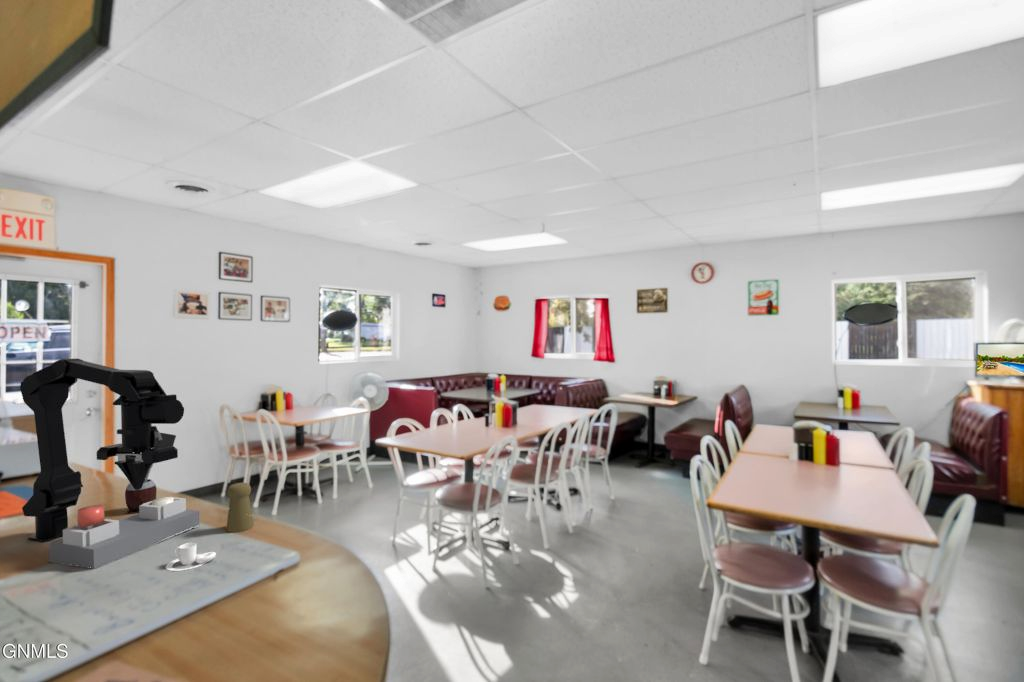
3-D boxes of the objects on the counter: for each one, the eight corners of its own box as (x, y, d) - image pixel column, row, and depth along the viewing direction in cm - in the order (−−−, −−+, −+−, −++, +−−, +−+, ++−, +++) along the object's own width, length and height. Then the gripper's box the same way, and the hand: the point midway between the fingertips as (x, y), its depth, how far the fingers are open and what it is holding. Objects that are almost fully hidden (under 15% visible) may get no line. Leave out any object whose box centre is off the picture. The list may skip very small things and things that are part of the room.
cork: (241, 533, 120) (240, 487, 120) (220, 531, 122) (219, 486, 122) (259, 523, 126) (258, 480, 126) (238, 522, 127) (237, 479, 127)
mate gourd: (124, 510, 140) (123, 457, 140) (158, 503, 145) (157, 452, 145) (127, 516, 134) (125, 461, 134) (162, 509, 140) (161, 456, 140)
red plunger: (73, 525, 107) (72, 510, 107) (95, 518, 111) (95, 504, 111) (86, 527, 106) (86, 512, 106) (109, 520, 110) (108, 505, 110)
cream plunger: (147, 514, 122) (147, 501, 122) (165, 508, 127) (165, 496, 127) (161, 516, 121) (160, 503, 121) (178, 510, 125) (177, 497, 125)
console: (49, 561, 107) (48, 528, 107) (158, 521, 130) (158, 494, 130) (94, 569, 103) (93, 535, 103) (199, 526, 125) (198, 498, 125)
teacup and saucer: (222, 559, 107) (222, 540, 107) (187, 576, 99) (186, 555, 99) (192, 554, 110) (192, 536, 110) (156, 570, 102) (155, 550, 102)
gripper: (197, 419, 123) (198, 482, 123) (141, 417, 128) (142, 477, 129) (153, 427, 113) (155, 495, 113) (94, 424, 118) (95, 490, 118)
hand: (138, 489), depth 118 cm, fingers closed
